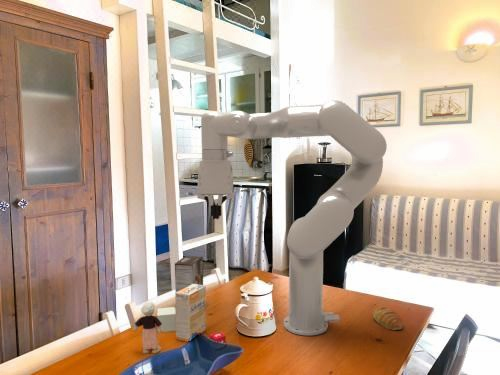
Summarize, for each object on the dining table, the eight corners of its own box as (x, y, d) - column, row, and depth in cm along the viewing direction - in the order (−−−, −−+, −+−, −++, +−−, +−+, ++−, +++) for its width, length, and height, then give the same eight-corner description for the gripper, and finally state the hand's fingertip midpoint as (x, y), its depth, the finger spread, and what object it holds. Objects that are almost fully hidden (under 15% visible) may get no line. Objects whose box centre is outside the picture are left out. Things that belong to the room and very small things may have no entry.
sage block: (175, 323, 111) (175, 306, 110) (175, 330, 106) (175, 313, 105) (158, 324, 110) (157, 308, 109) (157, 332, 105) (157, 315, 104)
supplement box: (190, 343, 99) (189, 295, 98) (175, 339, 101) (174, 292, 100) (207, 330, 106) (206, 285, 105) (192, 326, 108) (192, 282, 107)
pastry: (409, 330, 106) (409, 317, 105) (388, 333, 104) (388, 320, 104) (390, 316, 115) (390, 304, 114) (370, 319, 113) (370, 306, 113)
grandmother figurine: (165, 345, 98) (164, 298, 96) (164, 353, 94) (163, 304, 93) (135, 347, 96) (133, 300, 95) (132, 355, 93) (130, 306, 92)
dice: (216, 350, 95) (215, 339, 95) (209, 345, 98) (209, 334, 97) (225, 346, 97) (225, 335, 97) (219, 342, 99) (219, 331, 99)
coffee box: (186, 301, 127) (185, 255, 125) (204, 303, 125) (203, 256, 124) (175, 313, 118) (174, 263, 116) (194, 314, 116) (193, 264, 115)
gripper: (241, 155, 112) (242, 216, 114) (191, 156, 113) (193, 216, 114) (239, 155, 105) (240, 220, 106) (186, 156, 105) (188, 220, 107)
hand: (216, 218), depth 110 cm, fingers closed
